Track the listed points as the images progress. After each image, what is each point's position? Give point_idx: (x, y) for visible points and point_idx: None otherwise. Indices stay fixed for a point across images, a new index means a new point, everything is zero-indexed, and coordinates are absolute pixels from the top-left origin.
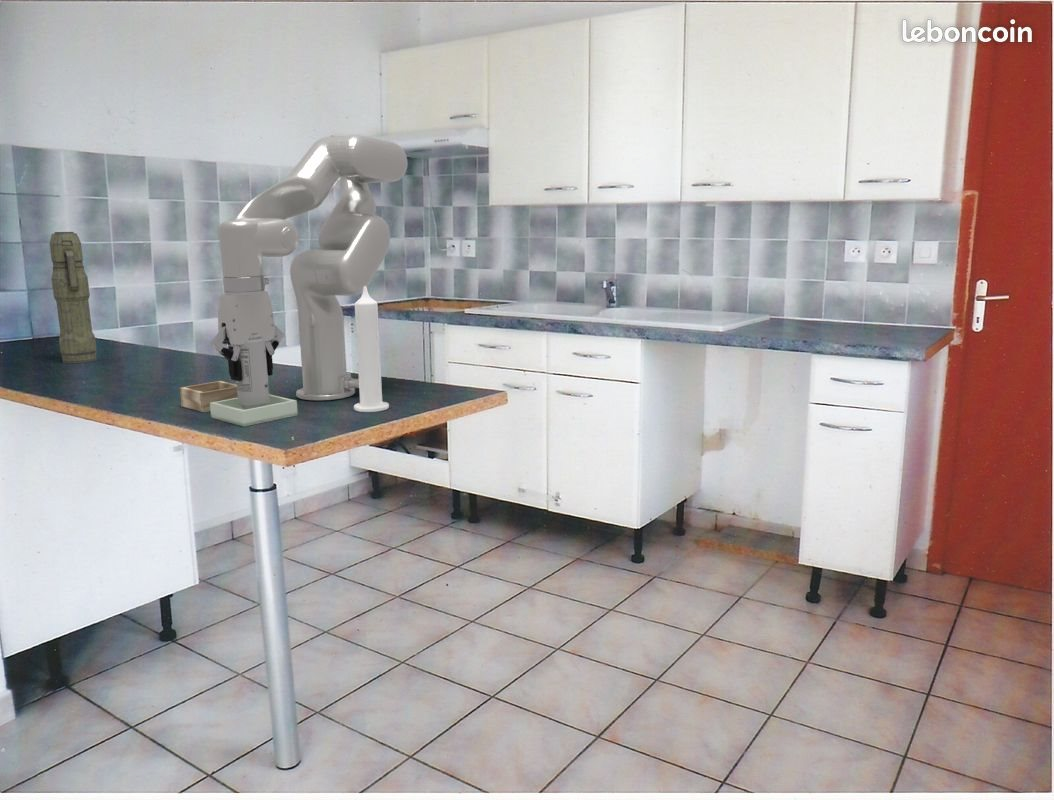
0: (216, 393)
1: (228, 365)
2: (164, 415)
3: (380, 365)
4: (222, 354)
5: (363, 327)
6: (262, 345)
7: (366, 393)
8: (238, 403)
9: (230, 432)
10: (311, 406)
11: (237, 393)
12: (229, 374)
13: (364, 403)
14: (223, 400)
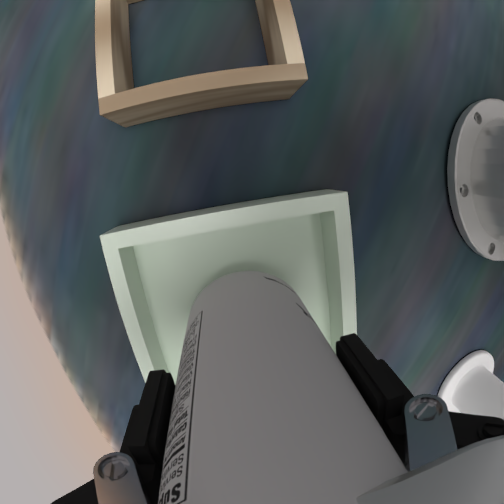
0: (170, 99)
1: (123, 440)
2: (30, 97)
3: None
4: (75, 500)
5: None
6: None
7: None
8: (188, 318)
9: (128, 418)
10: (422, 285)
11: (185, 334)
12: (135, 406)
13: (455, 403)
14: (155, 228)
